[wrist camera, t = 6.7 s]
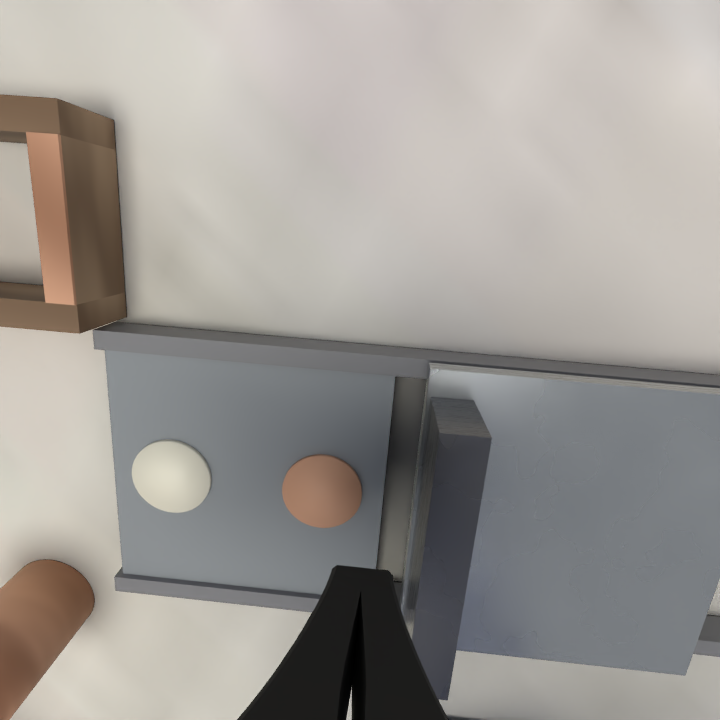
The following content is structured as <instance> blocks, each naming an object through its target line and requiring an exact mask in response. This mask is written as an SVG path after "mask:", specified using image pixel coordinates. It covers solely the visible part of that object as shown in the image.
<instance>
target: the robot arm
mask: <svg viewBox="0 0 720 720" xmlns="http://www.w3.org/2000/svg"><path fill="white" fill-rule="evenodd" d="M351 687H352V720H448V718H447V716H446V714H445V712H444V710H443V708H442V706H441V704H440V702H439V700H438V698H437V696H436V694H435V692H434V690H433V688H432V686H431V684H430V682H429V679H428V677H427V675H426V673H425V671H424V669H423V666H422V664H421V662H420V659H419V657H418V655H417V652H416V649H415V647H414V644H413V642H412V639H411V637H410V634H409V632H408V629H407V626H406V623H405V621H404V618H403V615H402V611H401V608H400V605H399V602H398V598H397V595H396V591H395V587H394V582H393V575H392V574H391V573H390V572H389V571H388V570H380V569H371V568H362V567H352V566H343V565H336V566H335V567H333V568H332V570H331V574H330V577H329V579H328V582H327V584H326V586H325V589H324V591H323V593H322V595H321V597H320V599H319V601H318V603H317V605H316V607H315V609H314V610H313V612H312V614H311V616H310V617H309V619H308V621H307V623H306V624H305V626H304V628H303V629H302V631H301V633H300V635H299V636H298V638H297V639H296V641H295V642H294V644H293V645H292V647H291V648H290V650H289V651H288V653H287V654H286V656H285V657H284V659H283V660H282V662H281V663H280V665H279V666H278V668H277V669H276V671H275V672H274V673H273V675H272V676H271V678H270V679H269V680H268V682H267V683H266V684H265V686H264V687H263V688H262V690H261V691H260V692H259V693H258V695H257V696H256V697H255V699H254V700H253V701H252V702H251V704H250V705H249V706H248V707H247V709H246V710H245V711H244V712H243V713H242V714H241V716H240V717H239V718H238V719H237V720H346V716H347V711H348V705H349V699H350V693H351Z"/></svg>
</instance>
